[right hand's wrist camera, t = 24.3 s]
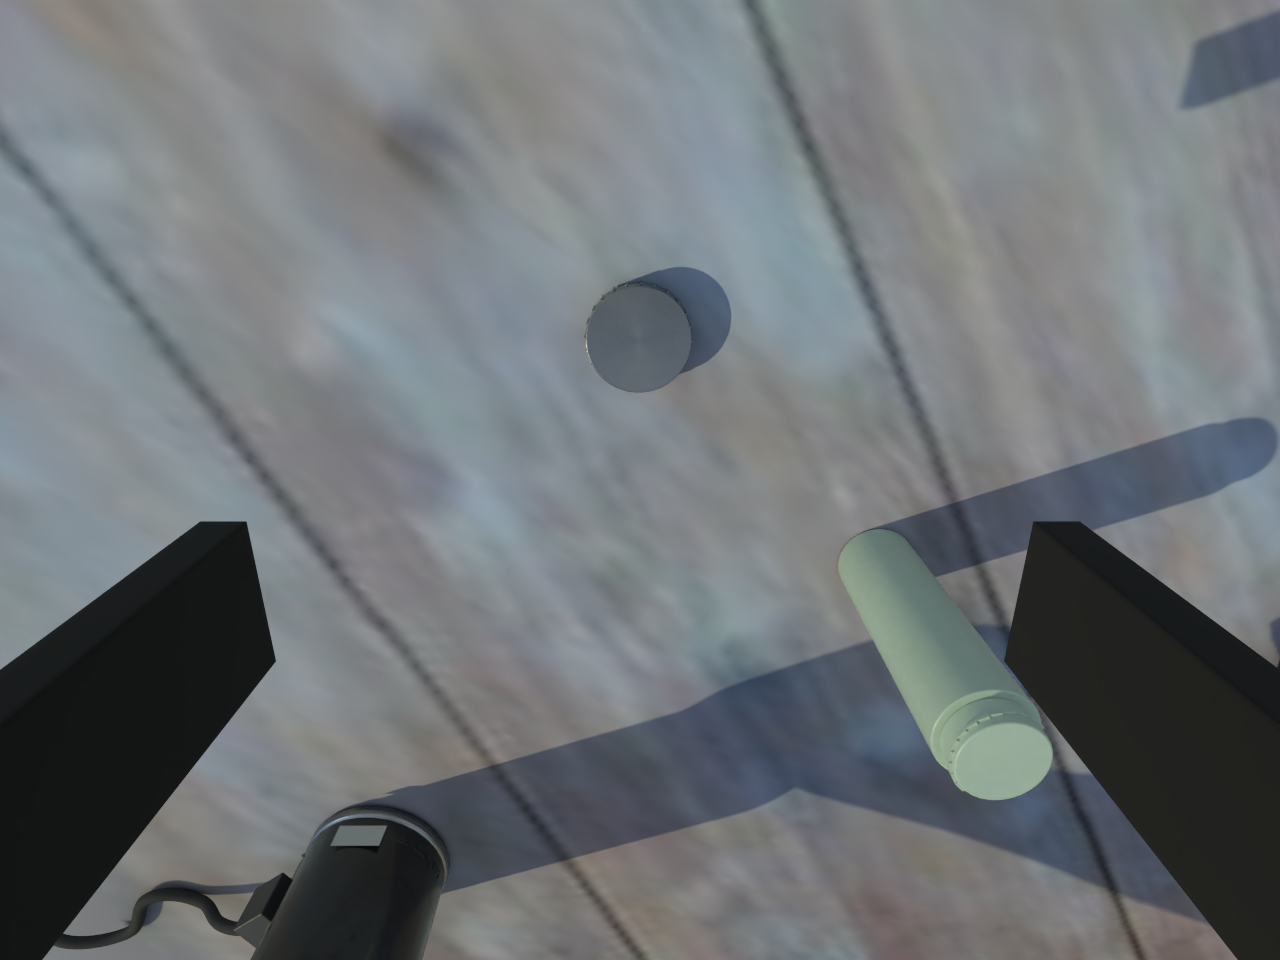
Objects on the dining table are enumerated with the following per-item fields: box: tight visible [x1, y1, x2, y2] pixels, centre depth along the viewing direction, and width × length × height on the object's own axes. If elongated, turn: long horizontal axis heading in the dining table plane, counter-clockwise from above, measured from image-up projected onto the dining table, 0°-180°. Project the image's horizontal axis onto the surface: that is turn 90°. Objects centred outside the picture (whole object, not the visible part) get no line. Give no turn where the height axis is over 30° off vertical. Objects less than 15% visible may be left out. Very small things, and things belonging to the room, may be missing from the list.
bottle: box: [838, 529, 1053, 800], centre depth 35 cm, size 4×4×16 cm
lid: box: [585, 281, 693, 392], centre depth 37 cm, size 5×5×2 cm
